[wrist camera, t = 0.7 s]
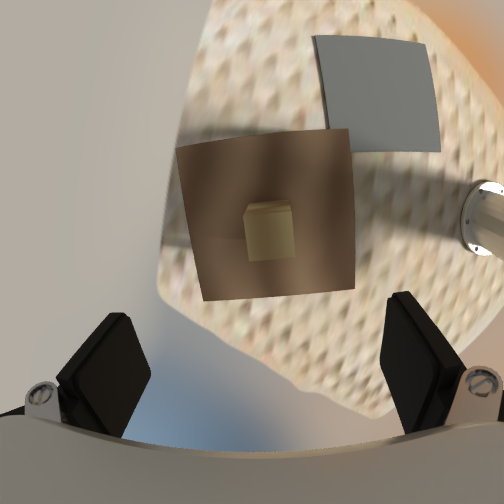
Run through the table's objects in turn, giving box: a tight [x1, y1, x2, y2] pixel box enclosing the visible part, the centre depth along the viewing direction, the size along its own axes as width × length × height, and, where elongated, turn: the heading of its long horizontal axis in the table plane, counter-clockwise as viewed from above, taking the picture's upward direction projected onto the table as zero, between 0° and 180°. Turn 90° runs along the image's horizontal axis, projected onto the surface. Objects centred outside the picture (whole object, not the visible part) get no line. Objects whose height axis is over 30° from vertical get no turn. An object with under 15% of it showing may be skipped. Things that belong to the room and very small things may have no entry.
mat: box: [315, 35, 441, 152], centre depth 32 cm, size 17×17×1 cm
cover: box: [176, 128, 355, 301], centre depth 30 cm, size 15×15×19 cm
